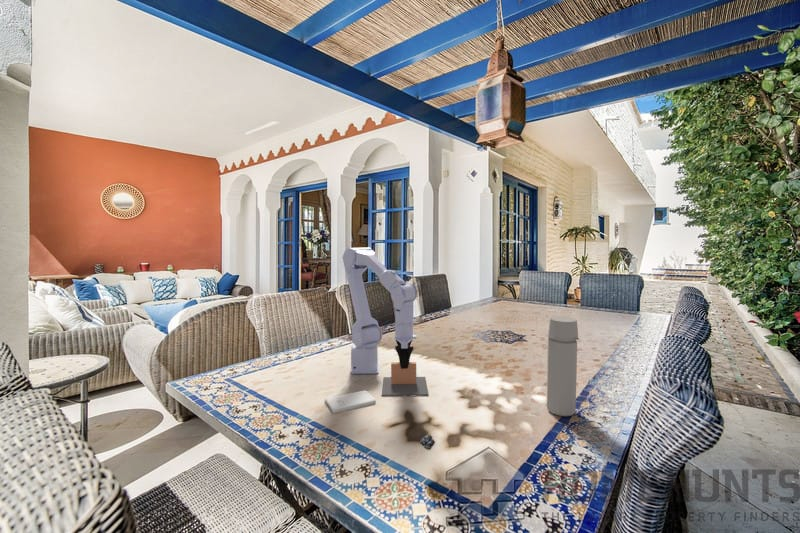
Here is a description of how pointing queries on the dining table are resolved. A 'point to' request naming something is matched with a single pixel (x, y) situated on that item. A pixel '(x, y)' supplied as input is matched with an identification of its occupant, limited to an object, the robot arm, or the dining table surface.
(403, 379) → the terracotta tile
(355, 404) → the external hard drive
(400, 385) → the mat
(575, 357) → the water bottle
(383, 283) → the robot arm
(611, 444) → the dining table surface
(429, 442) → the blueberries
